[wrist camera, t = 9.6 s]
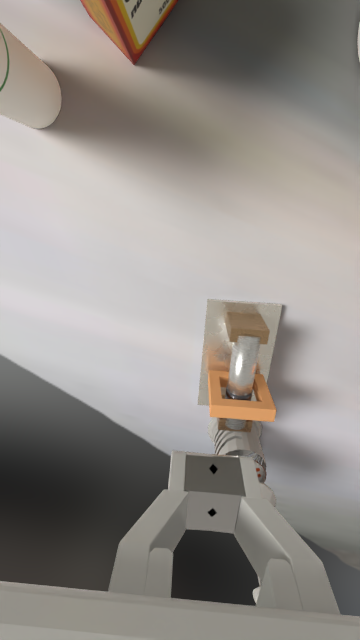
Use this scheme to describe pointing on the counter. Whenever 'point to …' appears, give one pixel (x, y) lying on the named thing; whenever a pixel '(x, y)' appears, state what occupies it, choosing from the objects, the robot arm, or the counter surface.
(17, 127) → the counter surface
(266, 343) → the pipe rig
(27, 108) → the cylindrical container
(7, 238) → the counter surface
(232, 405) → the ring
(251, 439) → the french press
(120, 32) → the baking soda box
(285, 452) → the counter surface
